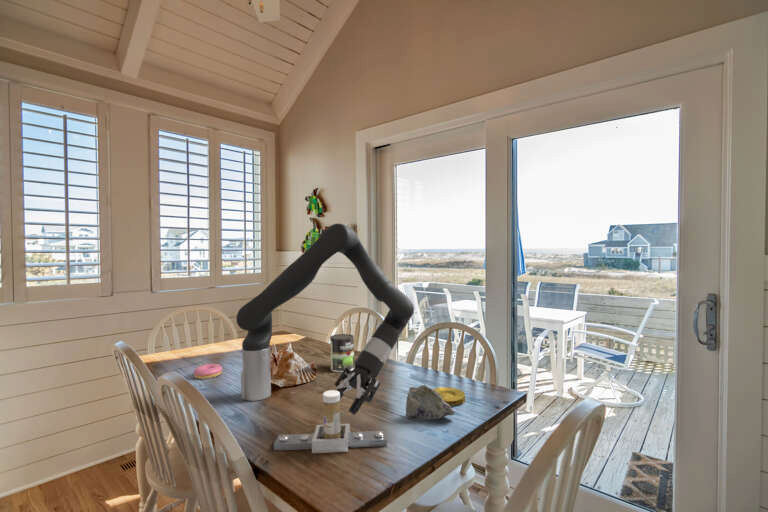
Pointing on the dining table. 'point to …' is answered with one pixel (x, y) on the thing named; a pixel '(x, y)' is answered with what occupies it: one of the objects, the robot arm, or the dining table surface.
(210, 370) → the doughnut
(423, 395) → the mineral rock
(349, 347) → the coffee can
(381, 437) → the right link bar
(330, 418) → the sprinkles bottle
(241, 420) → the dining table surface
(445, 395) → the gold slotted disc
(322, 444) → the link socket
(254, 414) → the dining table surface
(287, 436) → the left link bar
